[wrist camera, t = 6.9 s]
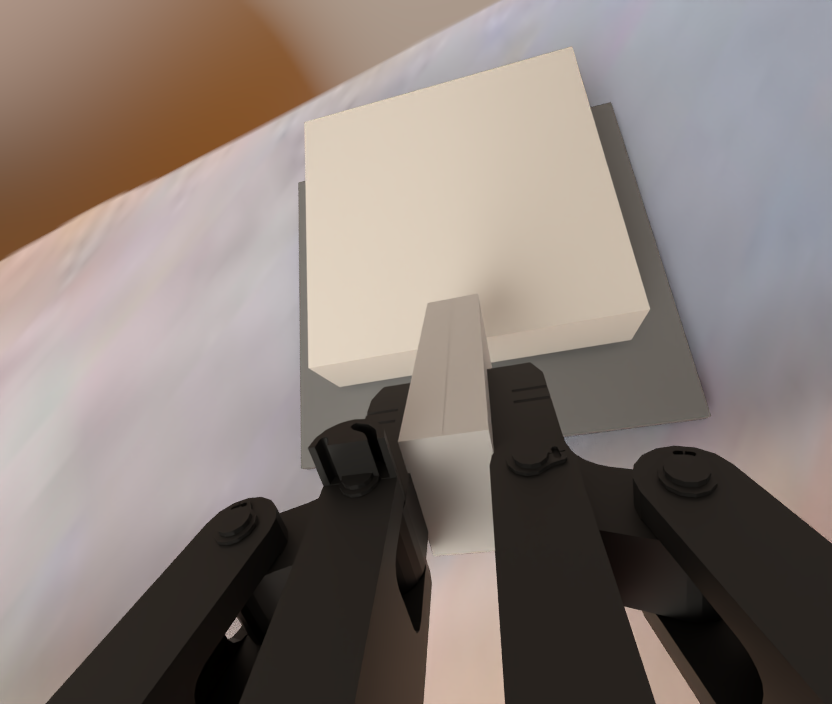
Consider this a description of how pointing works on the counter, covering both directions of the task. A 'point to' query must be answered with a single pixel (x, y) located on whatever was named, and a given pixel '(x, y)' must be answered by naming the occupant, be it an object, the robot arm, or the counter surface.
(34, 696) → the counter surface
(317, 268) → the tile
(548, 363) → the mat
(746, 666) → the robot arm
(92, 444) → the counter surface
